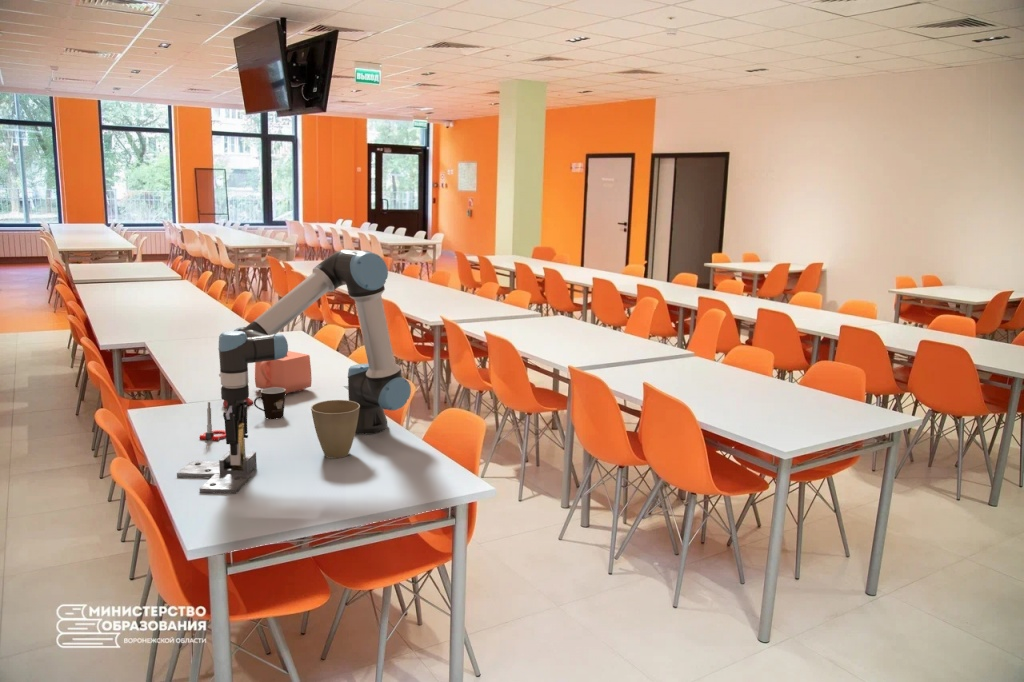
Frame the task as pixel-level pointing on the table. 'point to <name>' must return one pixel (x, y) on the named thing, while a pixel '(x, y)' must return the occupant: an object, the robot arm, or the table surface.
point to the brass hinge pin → (241, 441)
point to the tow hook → (210, 434)
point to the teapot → (284, 372)
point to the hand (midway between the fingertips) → (238, 462)
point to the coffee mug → (272, 402)
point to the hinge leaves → (221, 474)
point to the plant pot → (335, 426)
